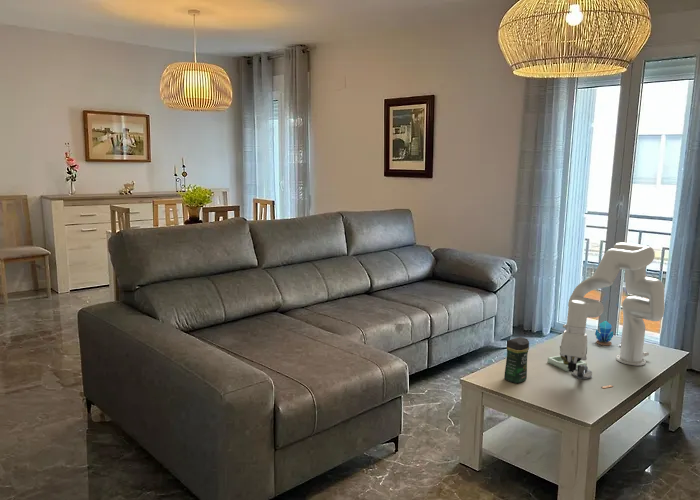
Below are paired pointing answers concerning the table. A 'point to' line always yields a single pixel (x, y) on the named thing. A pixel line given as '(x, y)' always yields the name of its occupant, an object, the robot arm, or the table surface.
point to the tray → (559, 363)
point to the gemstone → (604, 334)
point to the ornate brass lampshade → (565, 359)
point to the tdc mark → (607, 386)
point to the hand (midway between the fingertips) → (571, 370)
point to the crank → (581, 371)
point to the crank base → (586, 375)
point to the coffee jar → (516, 360)
